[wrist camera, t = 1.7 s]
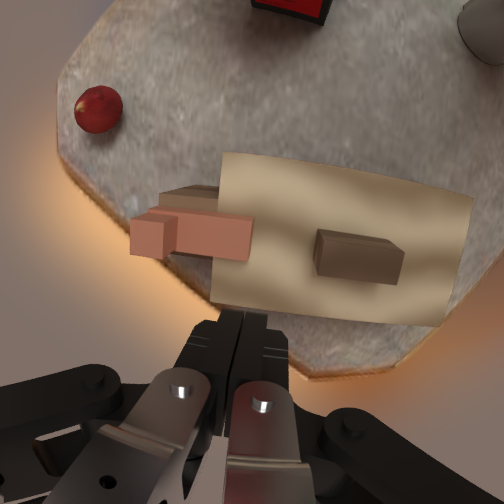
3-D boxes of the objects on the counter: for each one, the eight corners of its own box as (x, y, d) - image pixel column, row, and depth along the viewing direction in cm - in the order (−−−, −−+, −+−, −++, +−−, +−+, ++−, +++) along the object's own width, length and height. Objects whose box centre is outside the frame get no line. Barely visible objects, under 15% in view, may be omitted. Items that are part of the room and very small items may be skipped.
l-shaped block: (157, 205, 25) (130, 215, 20) (254, 217, 24) (247, 229, 19) (156, 241, 26) (129, 257, 21) (250, 253, 25) (242, 275, 20)
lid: (228, 152, 25) (212, 148, 19) (461, 195, 24) (499, 204, 18) (214, 291, 29) (198, 323, 23) (431, 317, 28) (457, 348, 22)
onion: (96, 96, 33) (59, 86, 26) (133, 87, 33) (100, 73, 25) (95, 138, 35) (58, 135, 27) (133, 131, 34) (99, 125, 27)
